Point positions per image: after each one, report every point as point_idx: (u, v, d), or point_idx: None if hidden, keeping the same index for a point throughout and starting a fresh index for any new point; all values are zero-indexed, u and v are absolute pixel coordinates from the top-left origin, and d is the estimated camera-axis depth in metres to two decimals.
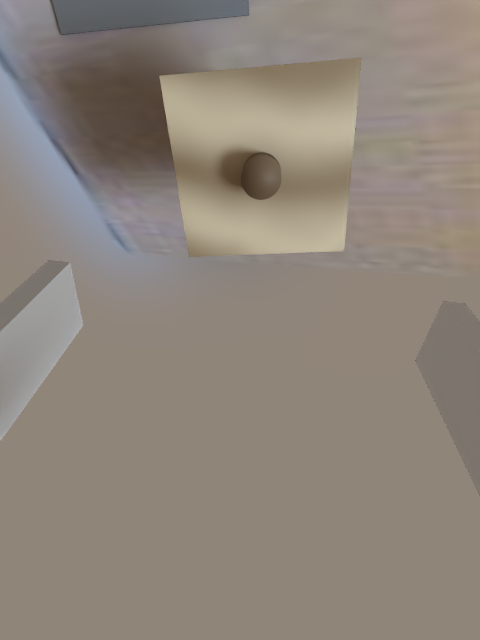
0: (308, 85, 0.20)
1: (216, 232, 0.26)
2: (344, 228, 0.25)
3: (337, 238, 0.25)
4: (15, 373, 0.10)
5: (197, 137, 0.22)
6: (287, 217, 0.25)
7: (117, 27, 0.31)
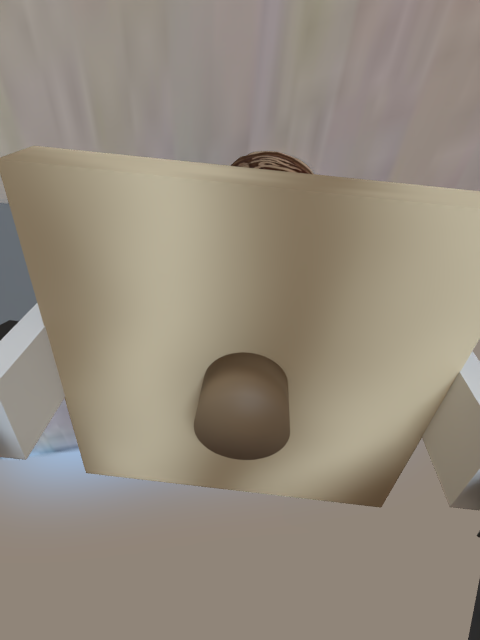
0: (72, 283, 0.09)
1: (347, 467, 0.12)
2: (465, 212, 0.07)
3: None
4: None
5: (170, 455, 0.13)
6: (365, 352, 0.09)
7: None
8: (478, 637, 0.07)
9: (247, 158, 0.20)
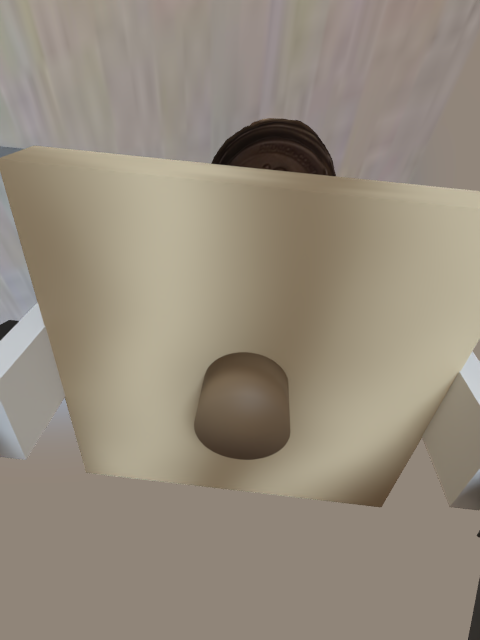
0: (73, 283, 0.09)
1: (347, 467, 0.12)
2: (465, 211, 0.07)
3: None
4: None
5: (171, 455, 0.13)
6: (366, 352, 0.09)
7: None
8: (478, 637, 0.07)
9: None
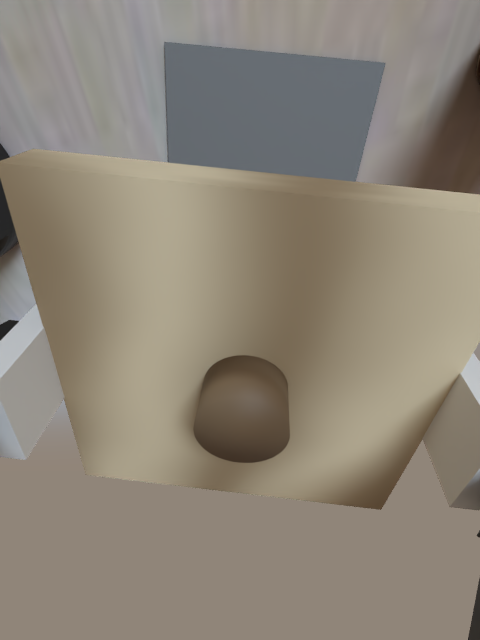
0: (72, 286, 0.09)
1: (348, 469, 0.12)
2: (465, 215, 0.07)
3: None
4: None
5: (170, 457, 0.13)
6: (365, 355, 0.09)
7: None
8: (478, 637, 0.07)
9: None
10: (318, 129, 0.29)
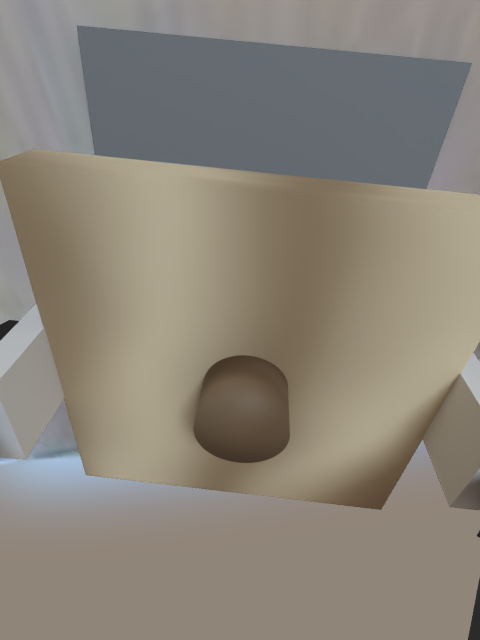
0: (72, 286, 0.09)
1: (347, 469, 0.12)
2: (465, 215, 0.07)
3: None
4: None
5: (170, 457, 0.13)
6: (365, 355, 0.09)
7: None
8: (478, 637, 0.07)
9: None
10: (347, 173, 0.18)
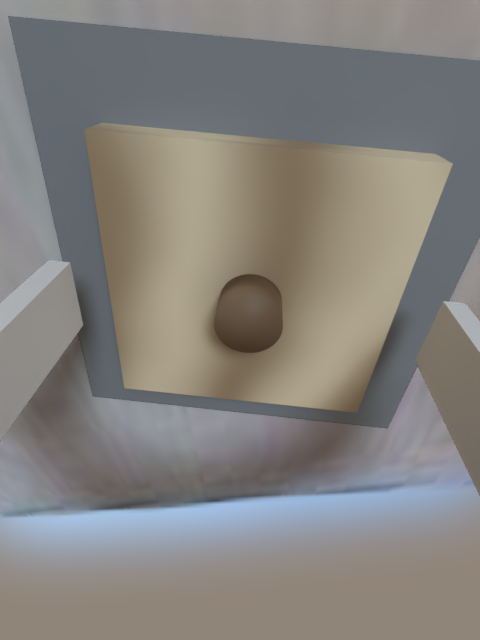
0: (128, 220, 0.13)
1: (329, 374, 0.16)
2: (396, 161, 0.11)
3: (415, 178, 0.11)
4: (15, 373, 0.10)
5: (192, 368, 0.16)
6: (337, 271, 0.13)
7: None
8: None
9: None
10: None
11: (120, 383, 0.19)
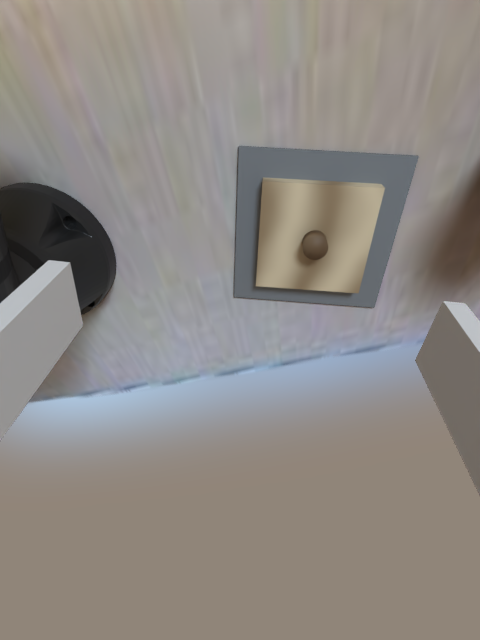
0: (271, 211, 0.35)
1: (345, 274, 0.38)
2: (366, 188, 0.33)
3: (373, 193, 0.33)
4: (16, 373, 0.10)
5: (287, 274, 0.39)
6: (347, 227, 0.35)
7: (385, 268, 0.39)
8: None
9: None
10: None
11: (248, 288, 0.42)
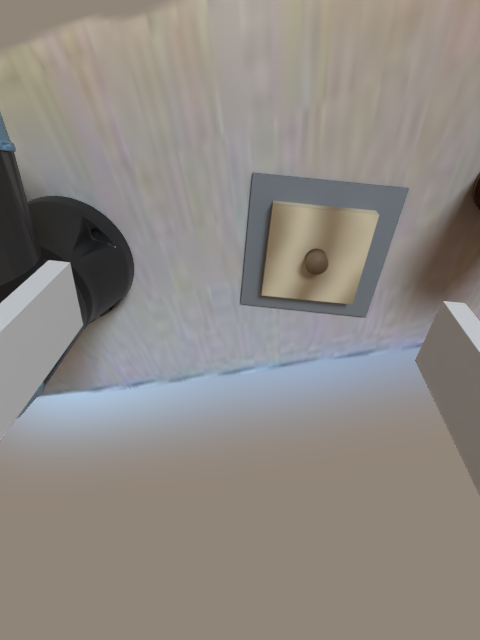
0: (279, 231, 0.40)
1: (342, 287, 0.43)
2: (363, 214, 0.38)
3: (368, 219, 0.38)
4: (15, 373, 0.10)
5: (290, 285, 0.43)
6: (345, 247, 0.40)
7: (376, 282, 0.44)
8: None
9: None
10: None
11: (254, 297, 0.46)
